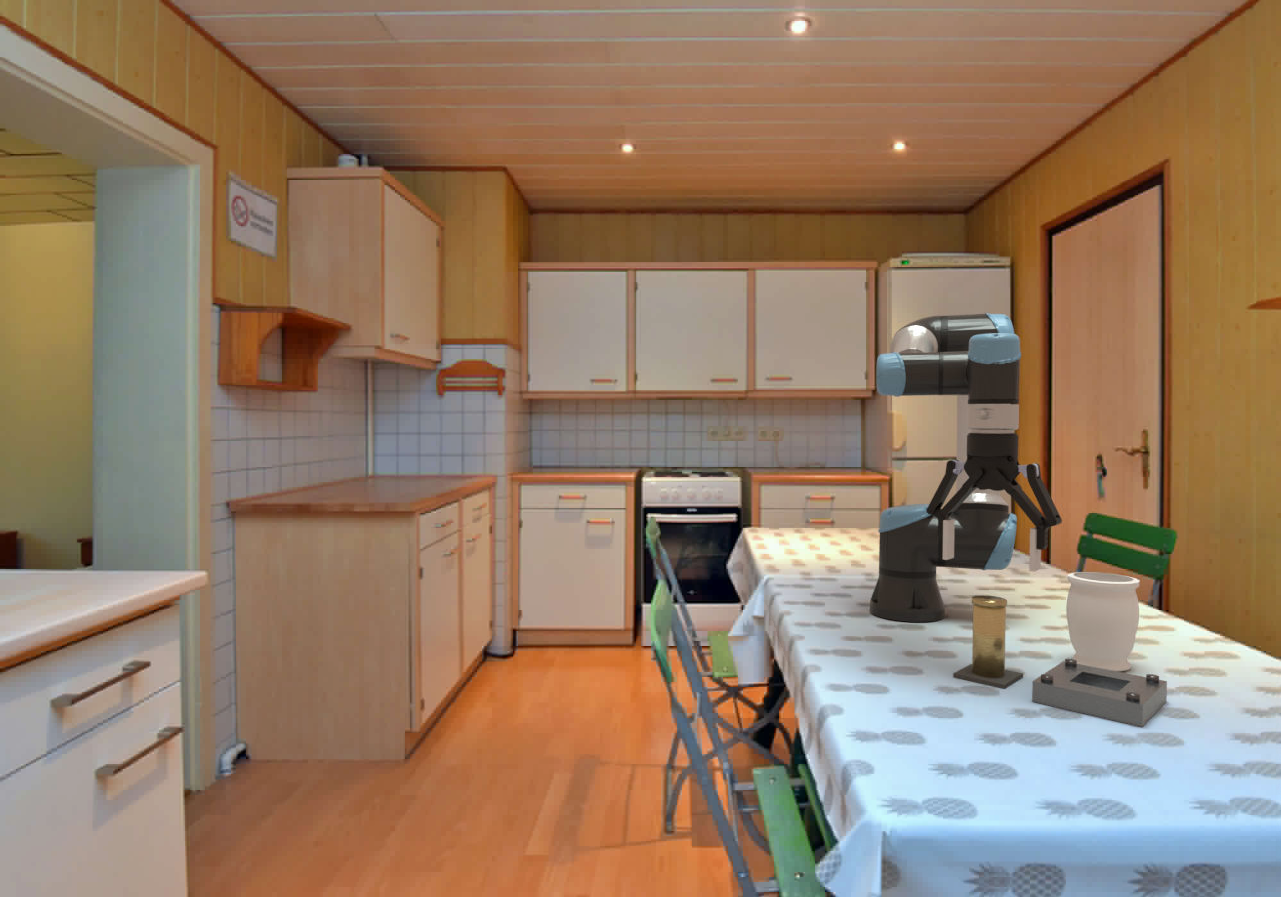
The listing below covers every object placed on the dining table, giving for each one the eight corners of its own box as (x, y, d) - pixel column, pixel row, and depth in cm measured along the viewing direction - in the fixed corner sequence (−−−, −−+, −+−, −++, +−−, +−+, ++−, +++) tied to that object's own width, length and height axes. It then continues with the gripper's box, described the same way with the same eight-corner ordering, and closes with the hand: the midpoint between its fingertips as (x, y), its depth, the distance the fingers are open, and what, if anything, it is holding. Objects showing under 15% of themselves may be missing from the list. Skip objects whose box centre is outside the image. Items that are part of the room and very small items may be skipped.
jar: (1129, 659, 138) (1131, 573, 138) (1145, 677, 129) (1147, 584, 128) (1060, 653, 142) (1062, 569, 141) (1071, 670, 132) (1073, 580, 132)
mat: (953, 677, 129) (953, 673, 129) (973, 666, 134) (973, 662, 134) (1004, 688, 123) (1004, 684, 123) (1023, 677, 129) (1023, 673, 129)
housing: (1032, 701, 117) (1032, 675, 117) (1063, 679, 127) (1063, 656, 127) (1142, 727, 108) (1142, 699, 107) (1166, 701, 118) (1167, 675, 117)
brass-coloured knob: (965, 673, 129) (966, 599, 128) (978, 666, 132) (979, 594, 132) (998, 680, 125) (1000, 604, 125) (1011, 673, 129) (1012, 599, 128)
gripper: (907, 430, 133) (905, 557, 134) (1070, 433, 116) (1067, 579, 117) (927, 429, 139) (925, 551, 140) (1086, 432, 121) (1082, 571, 122)
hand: (990, 564), depth 128 cm, fingers open, 13 cm apart
